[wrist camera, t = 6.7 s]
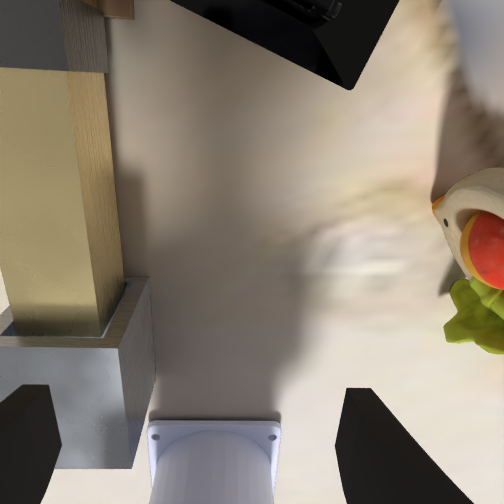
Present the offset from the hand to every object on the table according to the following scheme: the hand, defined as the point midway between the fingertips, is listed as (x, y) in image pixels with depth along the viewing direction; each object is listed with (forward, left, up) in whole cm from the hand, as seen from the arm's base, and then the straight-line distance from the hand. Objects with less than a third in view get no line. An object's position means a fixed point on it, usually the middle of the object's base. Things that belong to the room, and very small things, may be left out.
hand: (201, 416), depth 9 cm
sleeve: (-5, +6, -10) cm, 13 cm away
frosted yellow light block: (+5, +6, -10) cm, 13 cm away
